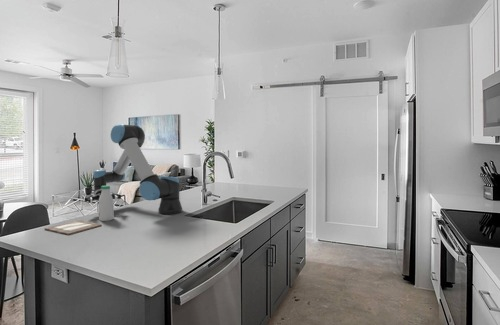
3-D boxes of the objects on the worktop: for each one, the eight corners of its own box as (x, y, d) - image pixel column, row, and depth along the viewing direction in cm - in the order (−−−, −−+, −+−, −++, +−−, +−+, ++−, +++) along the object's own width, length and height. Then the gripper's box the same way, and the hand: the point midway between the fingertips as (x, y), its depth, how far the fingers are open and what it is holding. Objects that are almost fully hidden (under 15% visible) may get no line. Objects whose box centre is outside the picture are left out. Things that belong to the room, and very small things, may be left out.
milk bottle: (116, 218, 174) (115, 185, 172) (105, 222, 167) (104, 187, 165) (107, 217, 177) (106, 184, 176) (96, 220, 170) (95, 186, 169)
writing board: (101, 225, 159) (101, 224, 159) (68, 235, 143) (68, 233, 143) (78, 221, 168) (78, 219, 168) (44, 229, 152) (44, 228, 152)
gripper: (122, 198, 199) (127, 204, 181) (79, 202, 187) (80, 208, 168) (121, 187, 199) (126, 192, 181) (79, 190, 186) (80, 195, 168)
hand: (104, 200), depth 175 cm, fingers open, 13 cm apart
